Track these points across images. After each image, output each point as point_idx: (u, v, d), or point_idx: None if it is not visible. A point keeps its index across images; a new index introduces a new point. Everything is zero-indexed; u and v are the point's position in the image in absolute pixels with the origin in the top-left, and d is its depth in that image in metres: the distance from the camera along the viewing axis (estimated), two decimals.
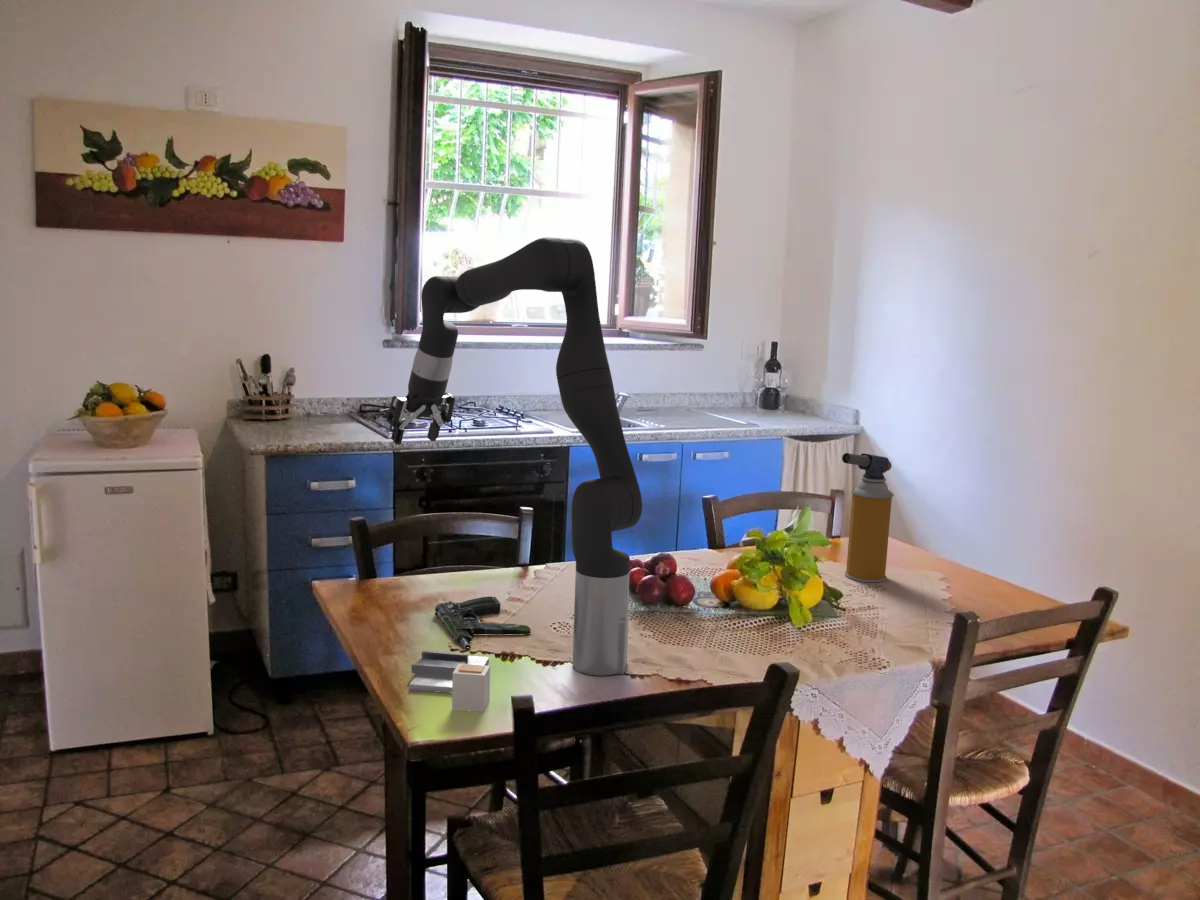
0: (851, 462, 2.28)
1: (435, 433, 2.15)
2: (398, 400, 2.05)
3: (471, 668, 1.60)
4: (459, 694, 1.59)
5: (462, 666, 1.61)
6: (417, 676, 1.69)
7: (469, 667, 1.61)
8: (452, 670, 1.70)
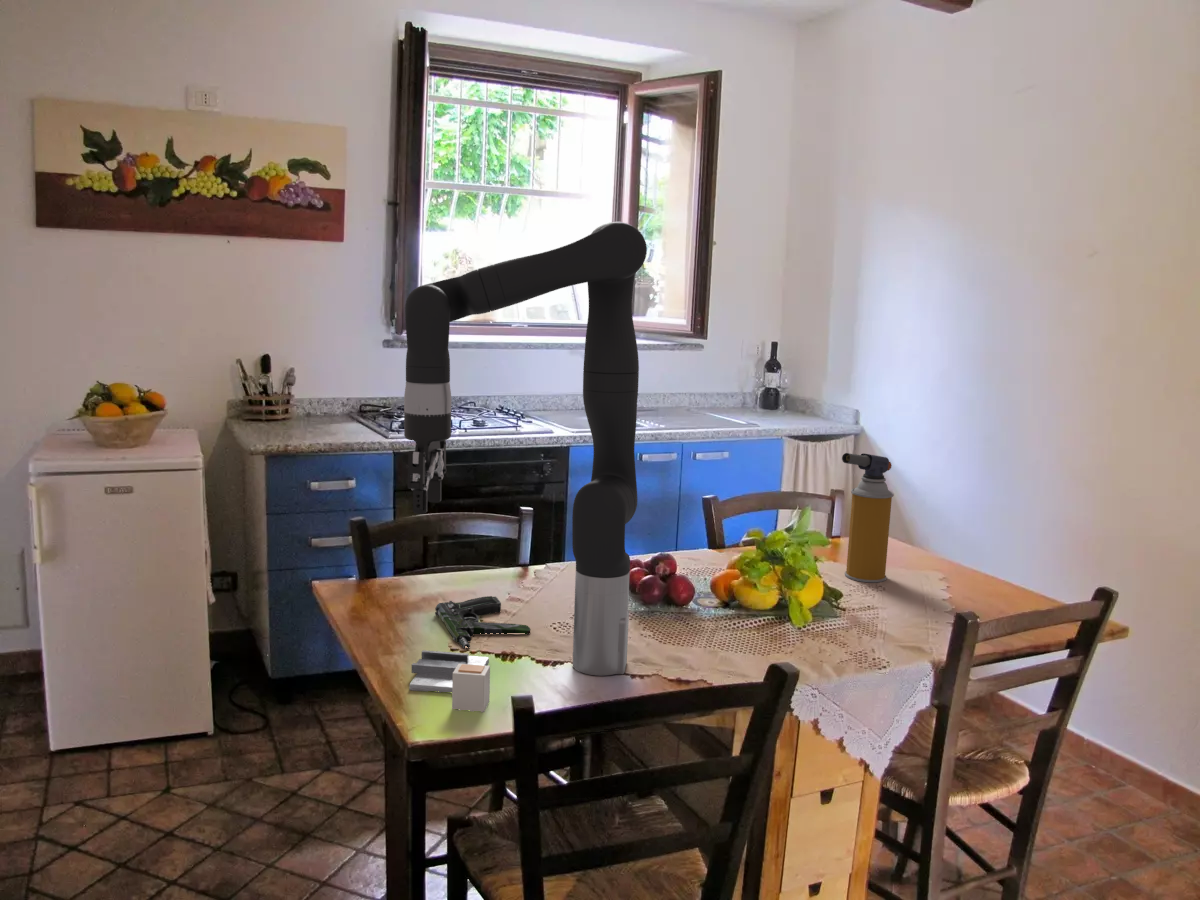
0: (851, 462, 2.28)
1: (440, 490, 1.74)
2: (419, 452, 1.62)
3: (471, 668, 1.60)
4: (459, 694, 1.59)
5: (462, 666, 1.61)
6: (417, 676, 1.69)
7: (469, 667, 1.61)
8: (452, 670, 1.70)
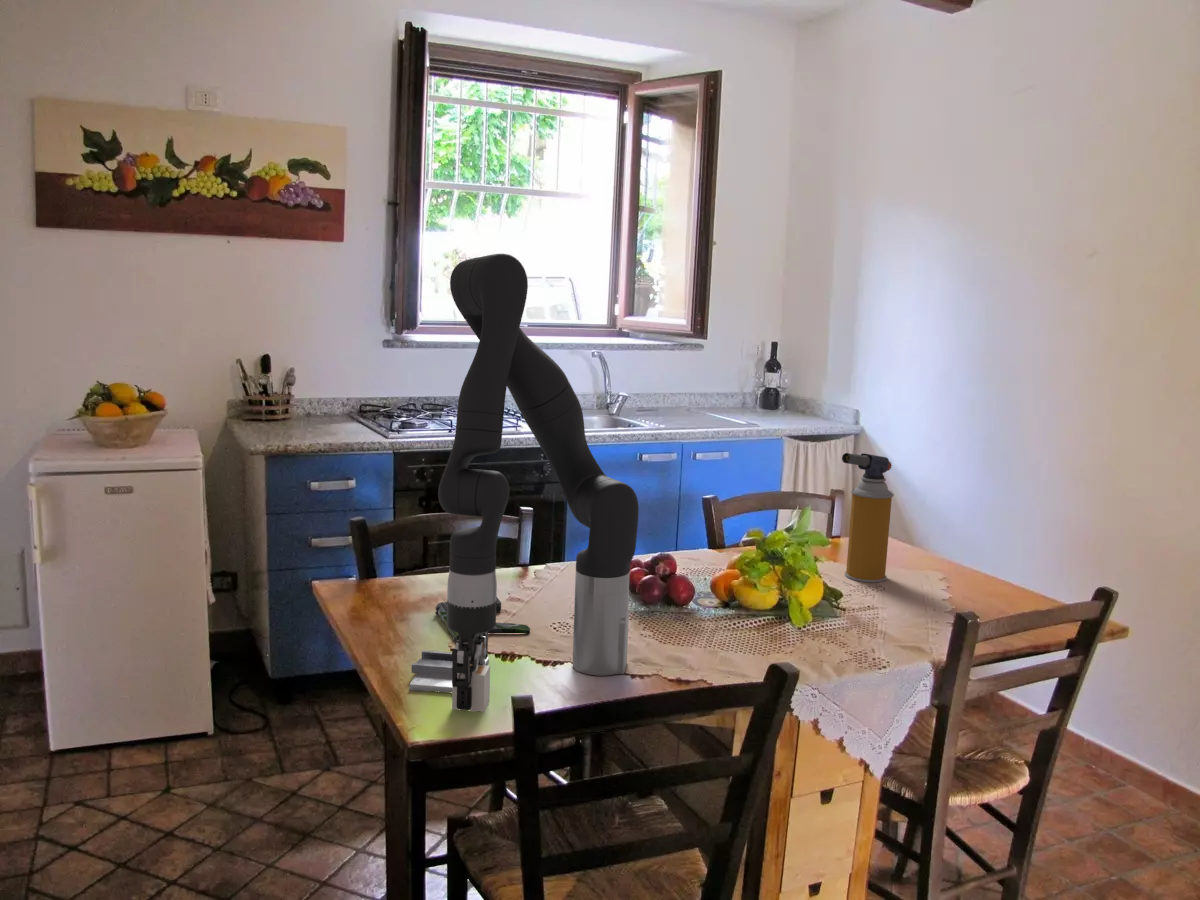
0: (851, 462, 2.28)
1: None
2: (464, 652, 1.53)
3: None
4: None
5: None
6: (417, 676, 1.69)
7: None
8: None
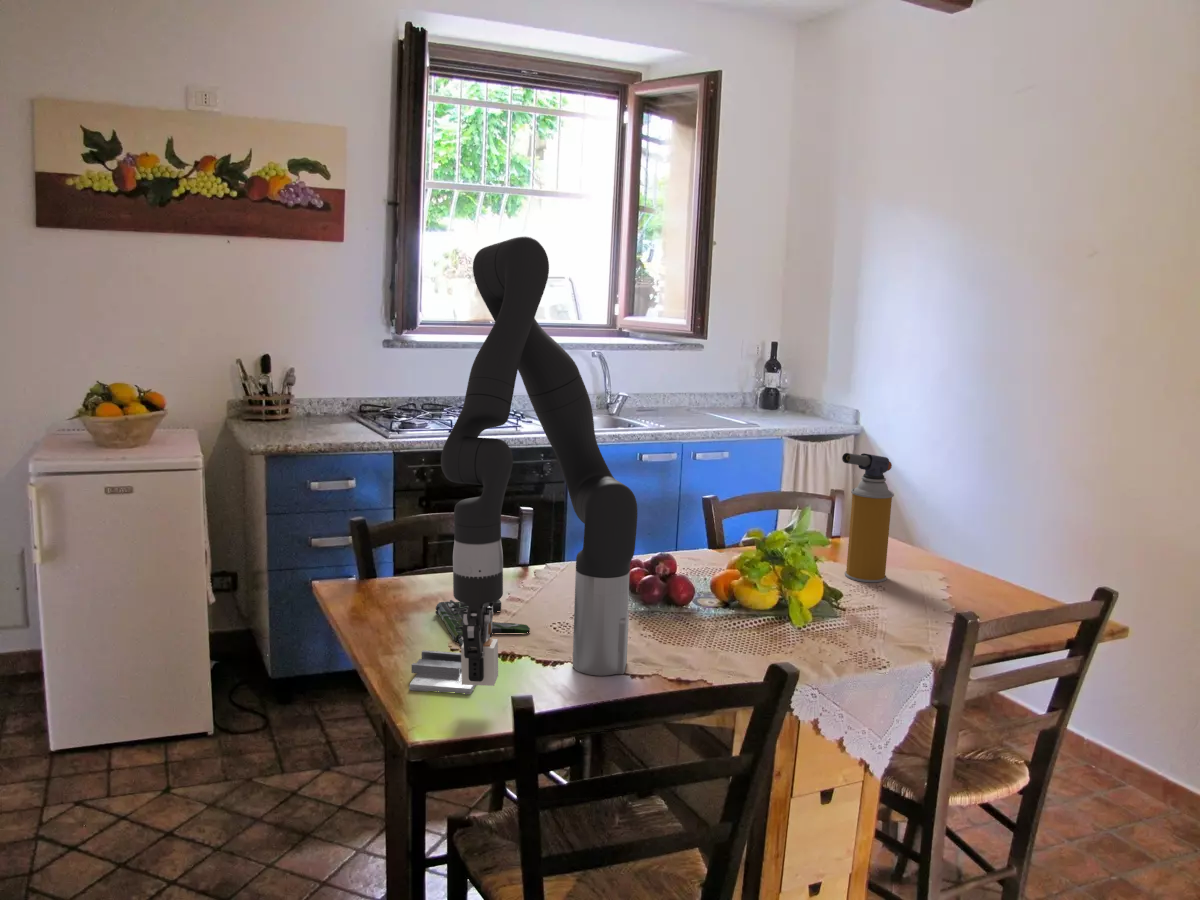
0: (851, 462, 2.28)
1: None
2: (474, 628, 1.52)
3: None
4: (468, 668, 1.58)
5: None
6: (417, 676, 1.69)
7: None
8: (452, 670, 1.70)
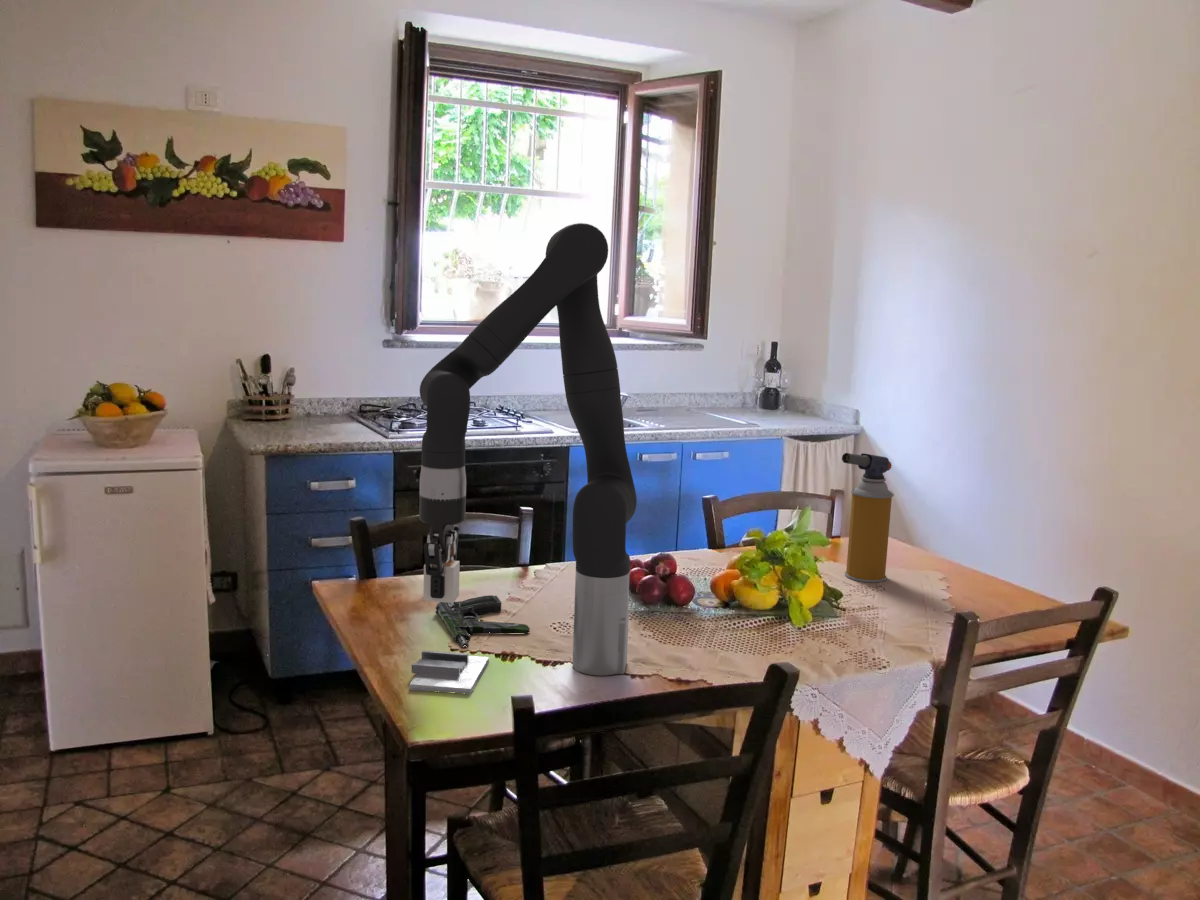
0: (851, 462, 2.28)
1: None
2: (435, 546, 1.64)
3: None
4: (430, 586, 1.70)
5: None
6: (417, 676, 1.69)
7: None
8: (452, 670, 1.70)
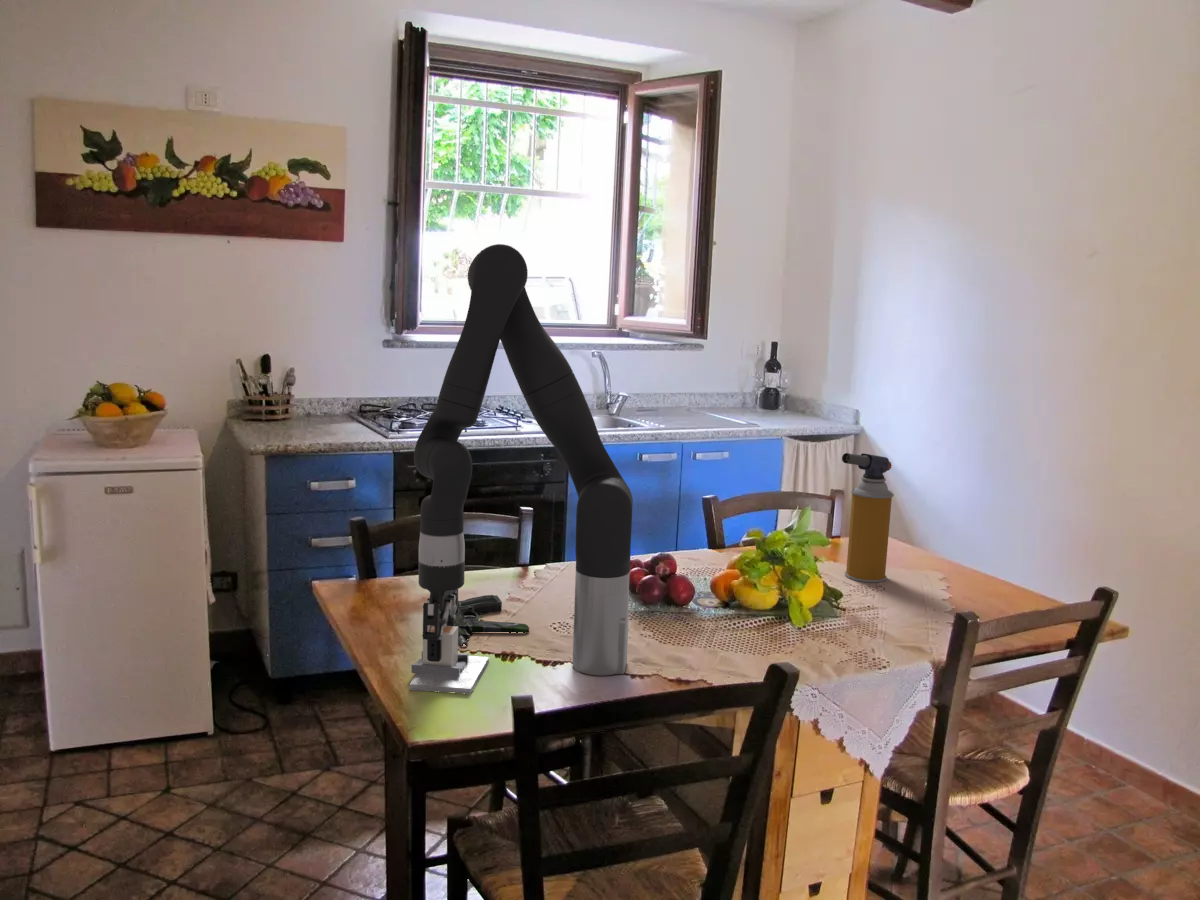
0: (851, 462, 2.28)
1: None
2: (434, 605, 1.65)
3: None
4: None
5: None
6: (417, 676, 1.69)
7: None
8: (452, 670, 1.70)
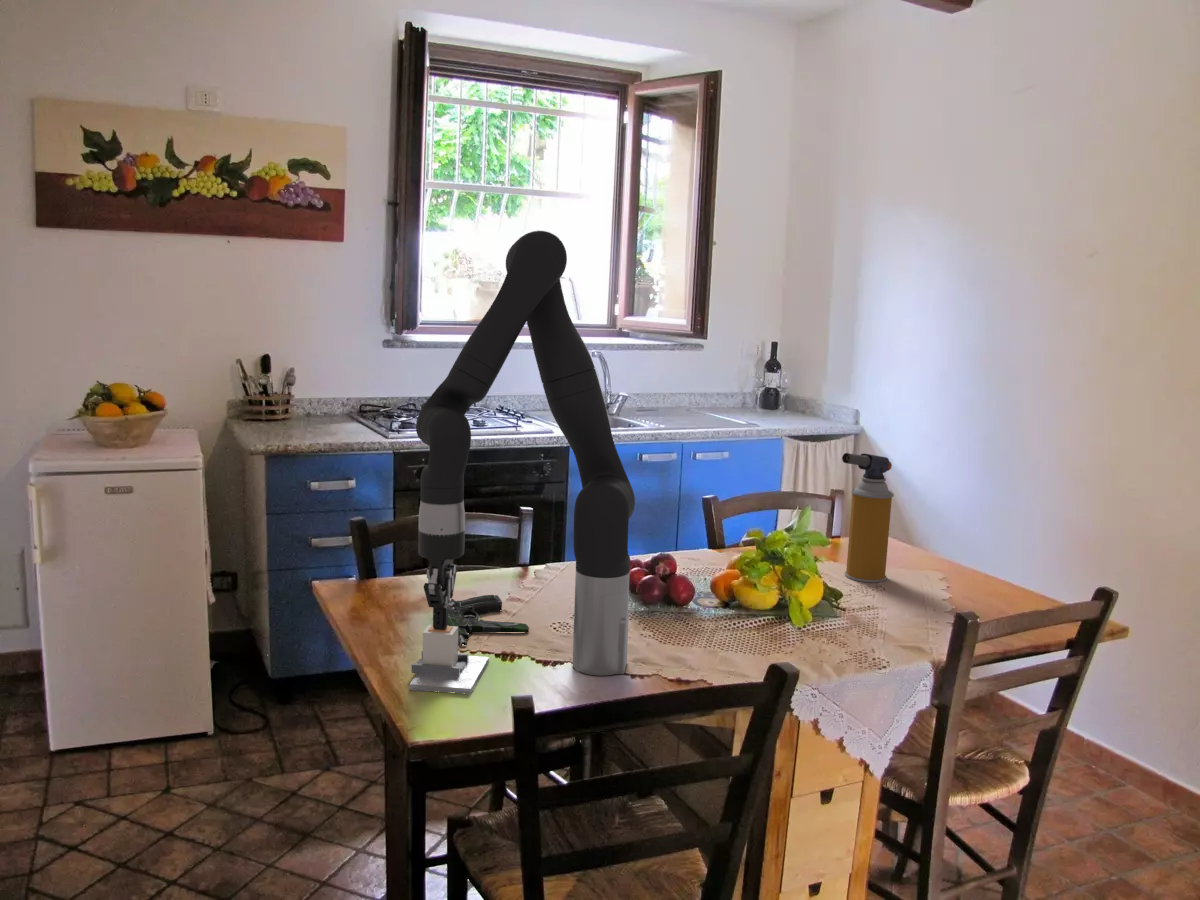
0: (851, 462, 2.28)
1: (447, 616, 1.72)
2: (435, 587, 1.65)
3: None
4: (429, 652, 1.71)
5: (432, 626, 1.73)
6: (417, 676, 1.69)
7: None
8: (452, 670, 1.70)
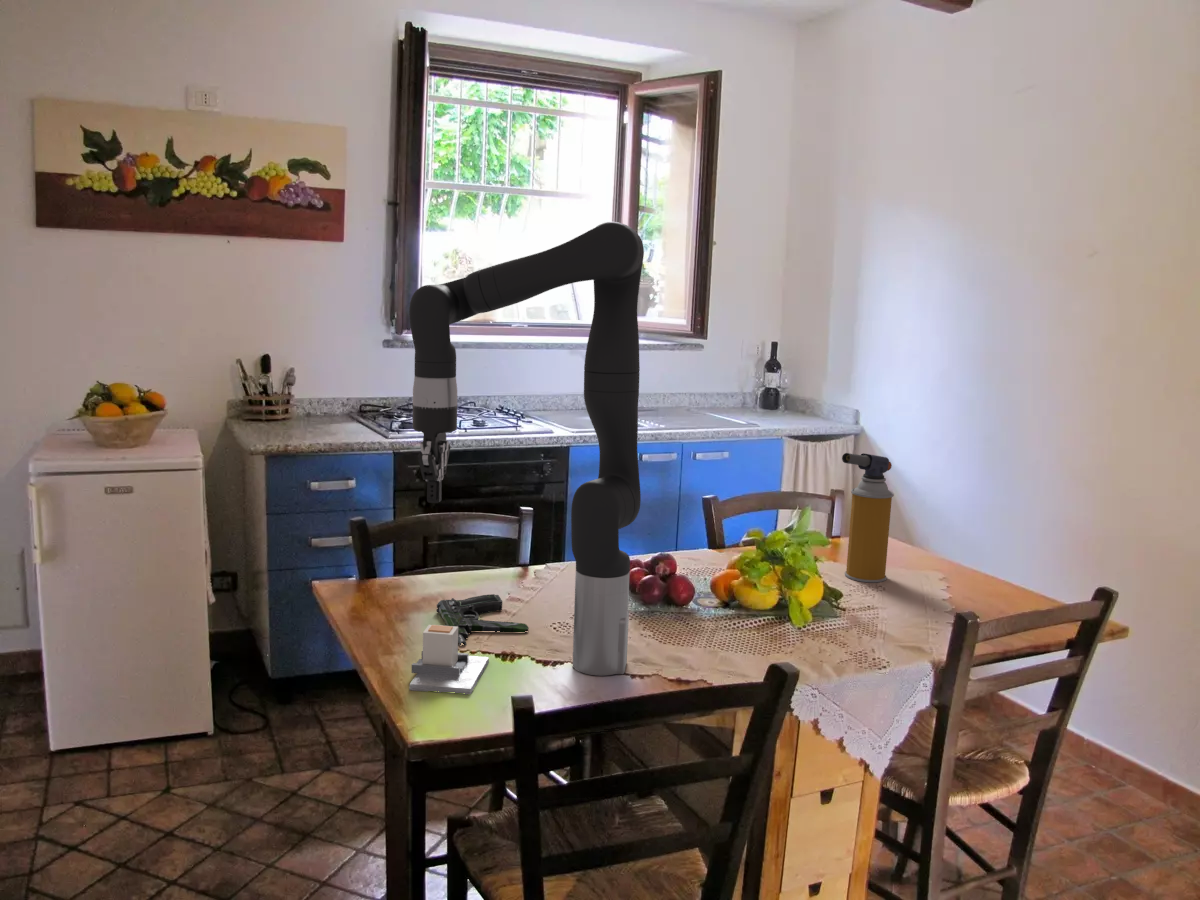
0: (851, 462, 2.28)
1: (440, 490, 1.79)
2: (428, 457, 1.72)
3: (440, 628, 1.72)
4: (429, 652, 1.71)
5: (432, 626, 1.73)
6: (417, 676, 1.69)
7: (439, 627, 1.73)
8: (452, 670, 1.70)
